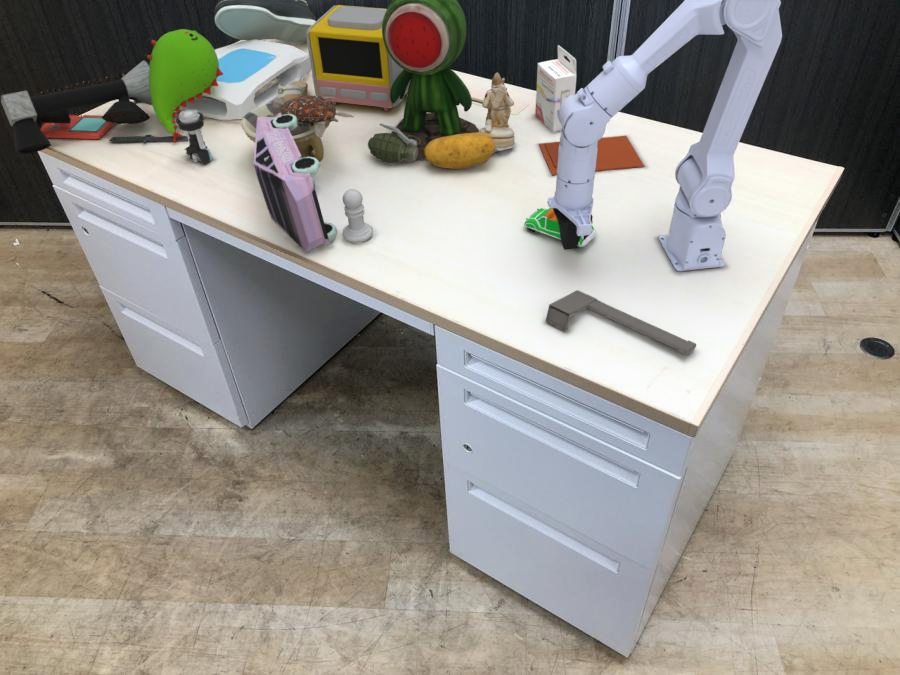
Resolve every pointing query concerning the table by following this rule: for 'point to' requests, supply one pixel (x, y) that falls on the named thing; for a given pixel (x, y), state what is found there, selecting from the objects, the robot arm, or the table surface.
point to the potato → (460, 150)
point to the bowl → (301, 136)
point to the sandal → (292, 90)
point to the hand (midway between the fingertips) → (569, 246)
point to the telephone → (76, 106)
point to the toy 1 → (180, 73)
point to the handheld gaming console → (78, 127)
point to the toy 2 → (309, 111)
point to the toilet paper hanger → (579, 301)
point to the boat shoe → (265, 19)
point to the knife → (145, 138)
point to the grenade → (393, 146)
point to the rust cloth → (600, 154)
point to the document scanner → (250, 77)
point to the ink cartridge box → (554, 87)
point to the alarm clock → (352, 57)
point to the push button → (194, 135)
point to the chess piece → (355, 218)
